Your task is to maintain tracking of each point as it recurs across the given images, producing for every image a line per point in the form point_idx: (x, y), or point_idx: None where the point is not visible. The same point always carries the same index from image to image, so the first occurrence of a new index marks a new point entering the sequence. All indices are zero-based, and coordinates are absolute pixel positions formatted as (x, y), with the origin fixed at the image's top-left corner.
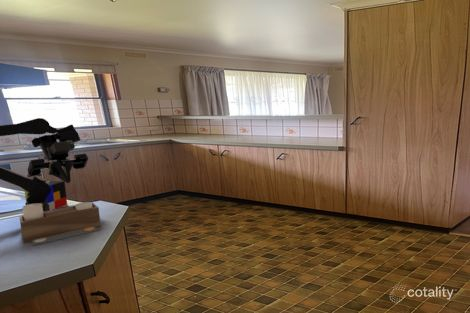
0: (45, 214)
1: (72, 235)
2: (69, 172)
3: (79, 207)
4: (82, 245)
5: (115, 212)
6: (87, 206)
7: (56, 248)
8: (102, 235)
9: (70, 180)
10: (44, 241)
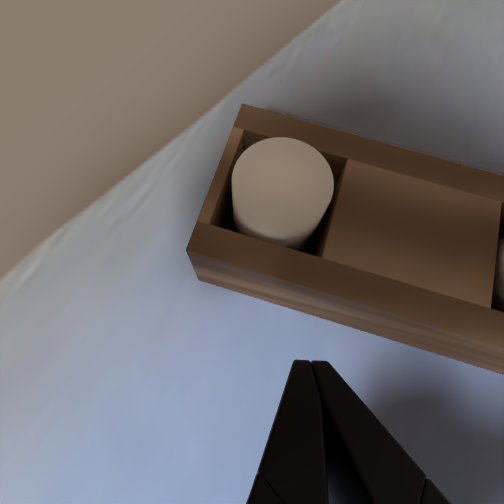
0: (494, 252)
1: (379, 141)
2: (270, 469)
3: (322, 162)
4: (389, 44)
5: (61, 284)
6: (282, 142)
7: (457, 90)
8: (302, 62)
9: (293, 361)
10: (479, 168)
